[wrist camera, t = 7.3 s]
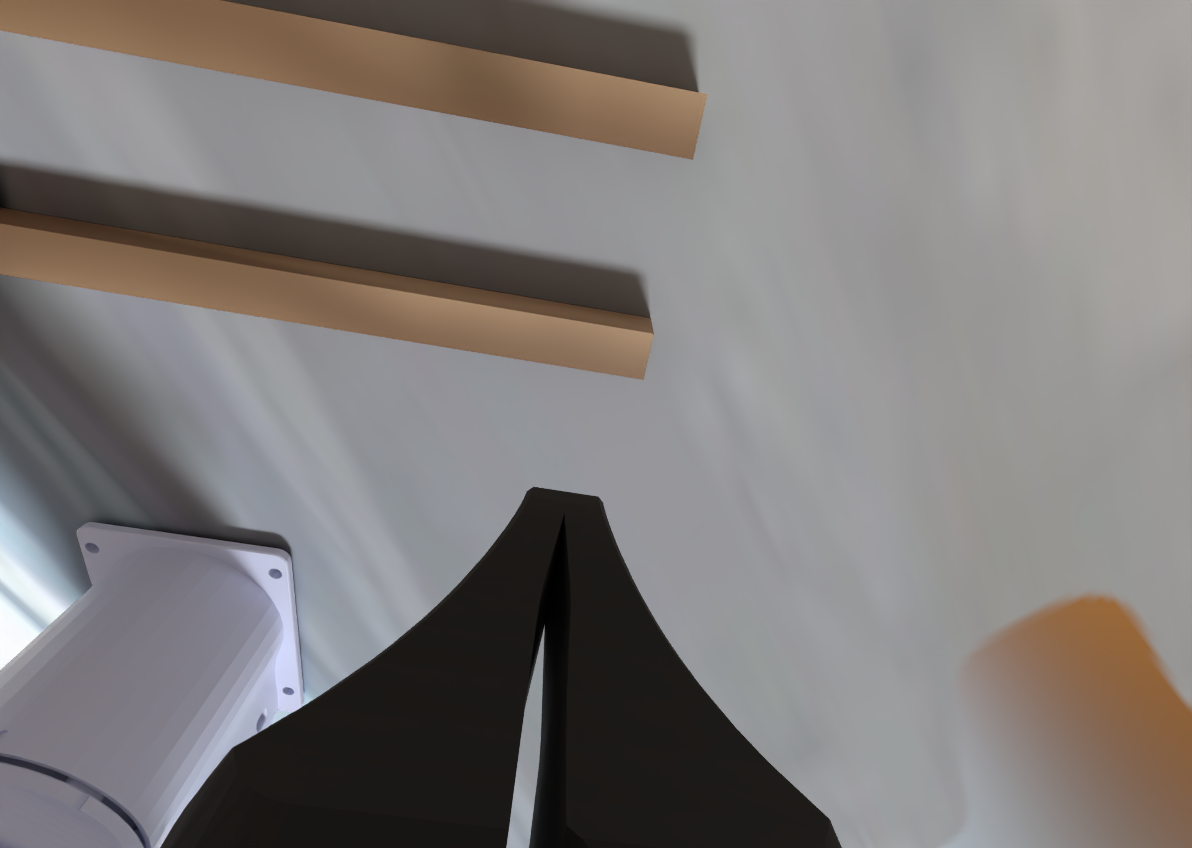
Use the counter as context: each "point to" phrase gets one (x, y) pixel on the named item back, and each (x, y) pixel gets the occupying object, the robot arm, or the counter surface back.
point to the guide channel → (373, 71)
